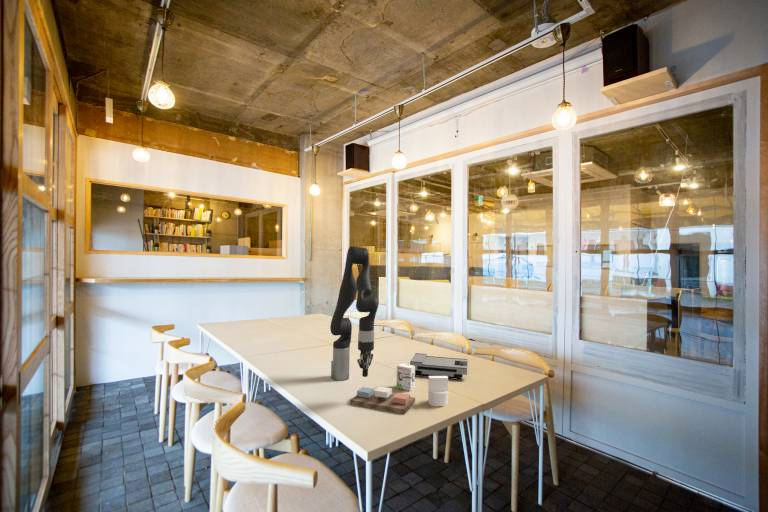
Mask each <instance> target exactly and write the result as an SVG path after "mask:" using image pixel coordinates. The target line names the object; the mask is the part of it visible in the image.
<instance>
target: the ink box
mask: <svg viewBox="0 0 768 512" xmlns="http://www.w3.org/2000/svg"><path fill="white" fill-rule="evenodd" d="M415 386H416V376H415V366H413V365H410V364H409V363H408V364H407V363H402V362H401V363H400V364H398V365H397V364H396V389H399V388H400V389H401V390H403V389H405V390H404V391H408V390H409V391H408V392H412V391H413V390H415V389H414V388H415ZM411 390H412V391H411Z"/></svg>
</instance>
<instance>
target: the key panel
mask: <svg viewBox="0 0 768 512" xmlns="http://www.w3.org/2000/svg"><path fill="white" fill-rule="evenodd" d="M396 394H397V393H396ZM396 394H395V393H392V394H391V395H390V396H389V397H388V398H384V397H378V396H375V390H374V394H373V395H372V396H371V397H370V398H365V397H359V396H357V394H356V395H354V397H352V398H351V399H350V405H352V406H358V407H363V408H369V409H374V410H379V411H385V412H389V413H390V412H391V413H396V414H400V415H401V414H402V415H405V414H406V413H407V412H408V411H409V410H410V409H411V407H412V406H413V405H414V404H415V403H416V397H412V396H410V401H409V402H408V403H407V404H406V405H405V404H399V403H393V397H394V396H395V395H396Z"/></svg>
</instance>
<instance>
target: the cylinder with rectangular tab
mask: <svg viewBox="0 0 768 512" xmlns="http://www.w3.org/2000/svg"><path fill="white" fill-rule="evenodd" d="M427 389H428V392H427V394H428V396H427V397H428V402H427V403H428V404H429V405H430V404H431V405H430V406H432V405H434V406H433V407H436V406H444V405H446V404H447V403H448V404H449V379H448V377H447V376H429V377H428V388H427ZM444 407H445V406H444Z"/></svg>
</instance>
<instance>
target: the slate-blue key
mask: <svg viewBox="0 0 768 512" xmlns="http://www.w3.org/2000/svg"><path fill="white" fill-rule="evenodd" d="M374 391H375V388H372V387H365V386H362V387H360V388H359V389H358V390H357V391H356V395H357V396H359V397H365V398H370V397H371V396H372V395H373V394H374Z"/></svg>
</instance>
